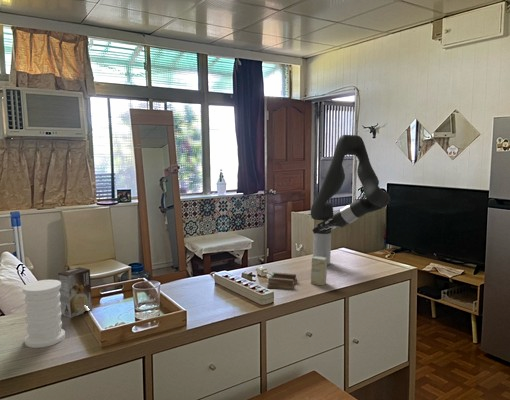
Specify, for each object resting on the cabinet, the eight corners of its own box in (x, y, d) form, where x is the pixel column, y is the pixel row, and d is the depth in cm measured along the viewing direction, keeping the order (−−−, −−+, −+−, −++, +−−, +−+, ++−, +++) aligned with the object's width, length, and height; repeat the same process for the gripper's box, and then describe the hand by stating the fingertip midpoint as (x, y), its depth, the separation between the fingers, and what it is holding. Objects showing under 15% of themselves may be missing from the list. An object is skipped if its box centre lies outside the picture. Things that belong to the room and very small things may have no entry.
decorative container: (68, 341, 128) (65, 286, 126) (27, 351, 122) (23, 294, 119) (61, 328, 138) (58, 277, 135) (22, 337, 131) (19, 283, 129)
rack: (273, 278, 193) (273, 270, 192) (296, 280, 190) (296, 272, 189) (267, 287, 179) (267, 279, 179) (291, 289, 176) (291, 282, 176)
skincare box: (310, 283, 185) (311, 257, 183) (313, 281, 189) (314, 255, 187) (323, 285, 182) (324, 259, 180) (326, 283, 186) (327, 257, 184)
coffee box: (82, 306, 157) (80, 266, 155) (92, 310, 153) (90, 269, 151) (60, 314, 149) (57, 272, 147) (70, 318, 146) (68, 275, 144)
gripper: (350, 208, 185) (323, 224, 194) (334, 207, 174) (306, 224, 183) (357, 222, 182) (329, 238, 191) (342, 223, 171) (313, 239, 180)
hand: (318, 231), depth 187 cm, fingers open, 8 cm apart
